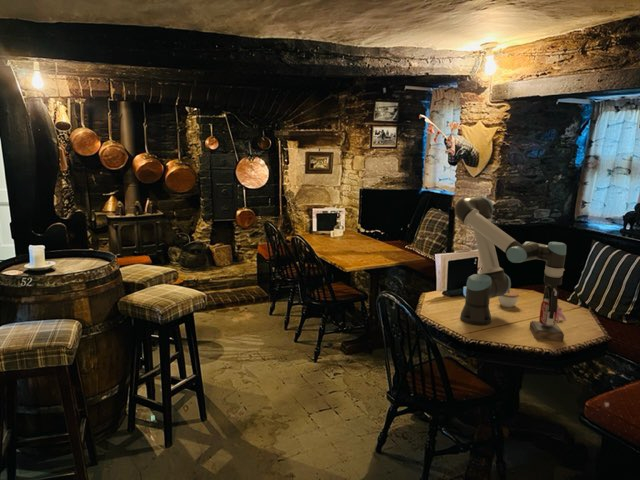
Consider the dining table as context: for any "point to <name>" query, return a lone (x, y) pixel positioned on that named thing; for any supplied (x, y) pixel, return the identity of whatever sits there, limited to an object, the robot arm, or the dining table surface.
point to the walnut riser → (546, 331)
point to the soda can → (545, 313)
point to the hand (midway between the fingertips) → (547, 321)
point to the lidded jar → (508, 299)
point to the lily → (560, 313)
